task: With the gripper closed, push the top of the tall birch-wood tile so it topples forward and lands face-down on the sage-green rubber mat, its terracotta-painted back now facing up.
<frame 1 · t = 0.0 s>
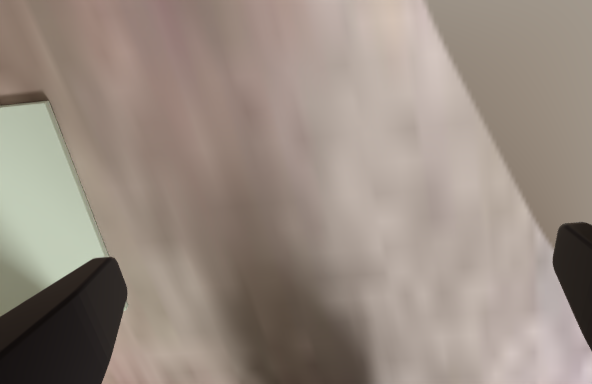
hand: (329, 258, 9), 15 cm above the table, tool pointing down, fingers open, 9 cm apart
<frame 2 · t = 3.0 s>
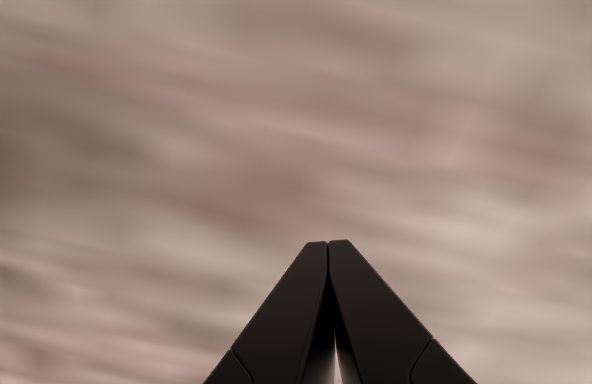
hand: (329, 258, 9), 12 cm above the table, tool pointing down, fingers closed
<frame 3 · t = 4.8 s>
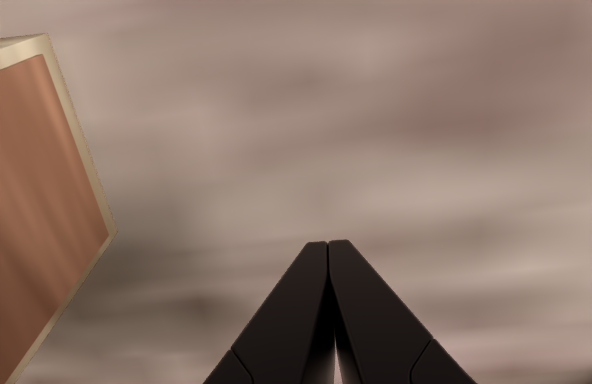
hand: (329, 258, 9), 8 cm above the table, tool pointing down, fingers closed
birch tile: (42, 147, 17), on the table
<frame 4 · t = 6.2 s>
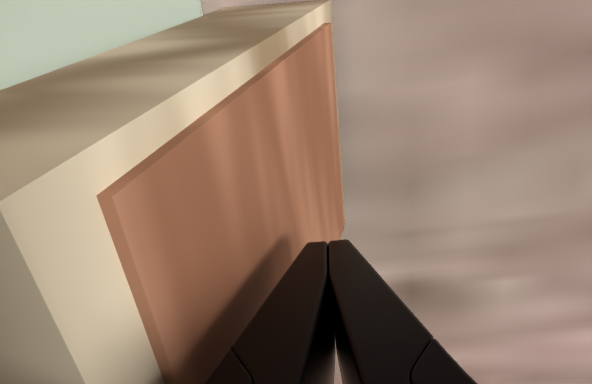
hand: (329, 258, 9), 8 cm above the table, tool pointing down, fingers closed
birch tile: (290, 124, 16), on the table, tilted 15°
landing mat: (43, 142, 17), on the table
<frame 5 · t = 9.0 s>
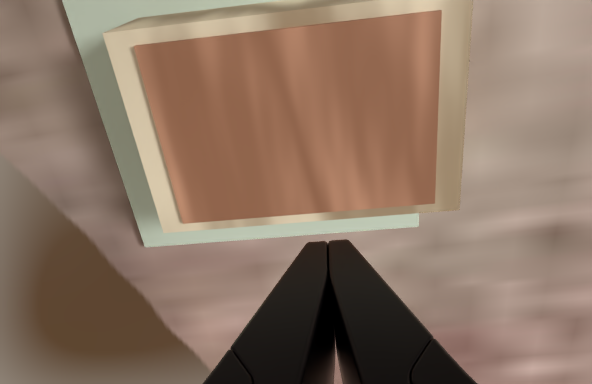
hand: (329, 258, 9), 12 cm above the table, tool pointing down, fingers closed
birch tile: (452, 97, 17), point 2 cm above the table, tilted 90°, touching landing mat
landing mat: (257, 101, 20), on the table
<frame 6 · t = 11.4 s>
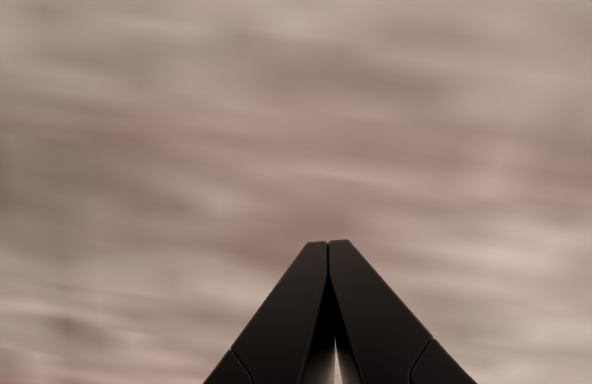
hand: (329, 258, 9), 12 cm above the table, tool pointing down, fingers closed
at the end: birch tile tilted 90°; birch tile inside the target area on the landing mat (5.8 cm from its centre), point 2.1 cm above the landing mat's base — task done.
